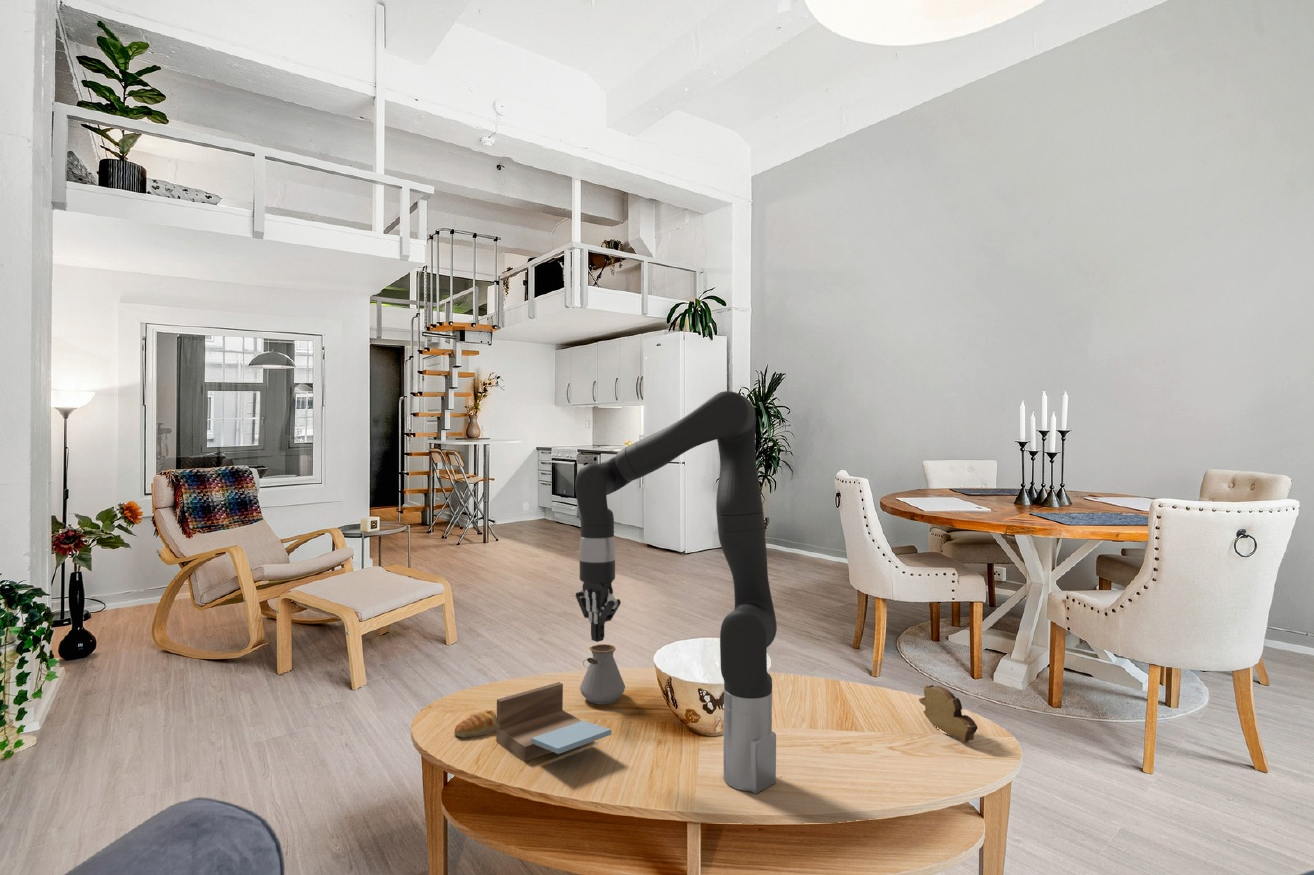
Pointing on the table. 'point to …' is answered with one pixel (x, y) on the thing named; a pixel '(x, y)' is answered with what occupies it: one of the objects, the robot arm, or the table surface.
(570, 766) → the table surface
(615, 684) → the coffee pot
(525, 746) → the brown wooden l-shaped piece
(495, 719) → the pastry
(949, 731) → the wooden carving
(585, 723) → the light blue flat panel
